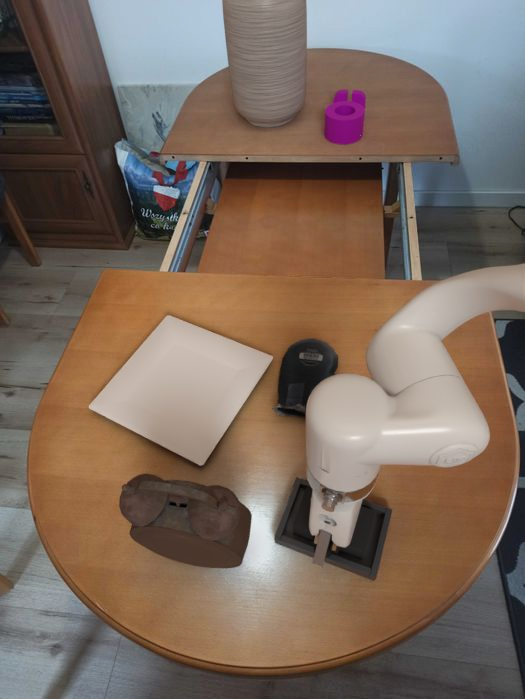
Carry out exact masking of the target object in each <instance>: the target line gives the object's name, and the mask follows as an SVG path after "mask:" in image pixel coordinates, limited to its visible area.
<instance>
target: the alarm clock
mask: <svg viewBox="0 0 525 699" xmlns="http://www.w3.org/2000/svg"><path fill="white" fill-rule="evenodd" d="M118 507H119V510H120V513H121V515H122V517H123V518H124V519H125V520H126V521H127V522H129V523H130V524H131V526H130V529H129V533H128V534H129V536H130V538H131V539H132V540H133V541H134V542H136V543H137V544H139V545H140V546H141V547H144V548H145V549H147V550H149V551H151V552H153V553H155V554H156V555H159V556H161V557H164V558H165V559H169V560H171V561H175V562H178V563H182V564H185V565H190V566H194V567H199V568H208V569H233V568H238V567H240V566H241V565H242V564H243V562H244V557H245V554H246V552H247V549H248V547H249V546H248V545H249V541H250V536H251V527H252V520H253V514H252V512H251V510H250V509H249V508H248V506H246V505H245V504H244V503H242V502H241V500H239V498H238V497H237V495H236V493H235V492H234V491H233V490H231V489H230V488H228V487H227V486H223V485H220V484H214V485H213V484H212V485H211V484H210V485H207V484H203V483H199V482H195V481H188V480H181V479H167V480H165V479H163V478H162V477H160V476H158V475H156V474H151V473H141V474H138V475H136V476H134V477H132V478H131V479H130V480H129V481H127V483H124V484H122V486H121V492H120V494H119V502H118Z"/></svg>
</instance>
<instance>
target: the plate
mask: <svg viewBox="0 0 525 699" xmlns="http://www.w3.org/2000/svg"><path fill="white" fill-rule="evenodd" d="M273 359H274V356H273V355H271V354H268V353H266V352H263V351H260V350H258V349H256V348H253V347H251V346H248V345H245V344H243V343H240V342H238V341H235V340H233V339H230V338H228V337H225V336H223V335H220V334H218V333H215V332H212V331H210V330H208V329H206V328H203V327H200V326H198V325H195V324H192V323H190V322H188V321H185V320H183V319H181V318H178V317H175V316H173V315H170V314H167V315H166V316H165V317H164V318H163V319H162V320H161V321H160V323H159V324H157V326H156V327H155V328H154V329H153V331H152V332H151V333H149V335H148V336H147V338H146V339H145V340H144V341H143V342H142V343H141V345H140V346H138V348H137V349H136V350H135V352H134V353H133V354H132V355H131V356H130V358H129V359H128V360H127V361H126V362H125V363H124V364H123V366H121V367H120V369H119V370H118V371H117V372H116V373H115V375H114V376H112V378H111V379H110V381H109V382H107V384H106V385H105V386H104V387H103V389H102V390H101V391H100V392H99V394H97V396H96V397H94V399H93V400H92V402H90V404H89V405H88V409H89V410H91V411H93V412H95V413H97V414H99V415H101V416H103V417H105V418H106V419H108V420H110V421H112V422H115V423H116V424H118V425H121V426H122V427H124V428H126V429H128V430H130V431H131V432H134V433H135V434H138V435H140V436H142V437H143V438H146V439H148V440H149V441H151V442H153V443H155V444H157V445H159V446H161V447H163V448H165V449H167V450H169V451H171V452H173V453H175V454H177V455H179V456H180V457H183V458H185V459H186V460H188V461H191V462H192V463H194V464H196V465H198V466H204V465H205V463H206V461H207V460H208V458H209V457H210V455H211V454H212V452H213V451H214V449H215V448H216V447H217V445H218V444H219V441H220V440H221V439H222V437H223V436H224V434H225V433H226V431H227V429H228V428H229V427H230V425H231V424H232V422H233V420H234V419H235V418H236V417H237V415H238V414H239V411H240V410H241V408H242V407H243V405H244V403H245V402H246V401H247V399H248V397H249V396H250V395H251V393H252V391H253V390H254V388H255V387H256V385H258V383H259V381H260V379H261V378H262V377H263V375H264V374H265V372H266V370H267V369H268V367H269V366H270V364H271V363H272V362H273Z"/></svg>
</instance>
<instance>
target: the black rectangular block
mask: <svg viewBox="0 0 525 699" xmlns="http://www.w3.org/2000/svg"><path fill="white" fill-rule="evenodd" d="M312 491H313V489H311V488H308V487H306V489H305V492H304V495H303V498H302V501H301V504H300V506H299V509H298V512H297V515H296V518H295V521H294V523H293V534H295V535H298V536H301V537H303V538H306V539H309V540H311V541H314V536H315V535H313V536H312V534H311V533H310V530H309V516H310V506H311V498H312ZM375 512H376V511H375V510H372V509H369V508H366V507H363V506H361V508H360V511H359V515H358V518H357V522H356V525H355V529H354V532H353V535H352V539H351V542H350V544H349V545H348V546H347V547H345V548H344V547H340V549H339V551H341V552H344V553H346V554H349V555H352V556H354V557H357V558H360V559H363V557H364V554H365V550H366V546H367V543H368V539H369V535H370V531H371V527H372V523H373V519H374V515H375Z"/></svg>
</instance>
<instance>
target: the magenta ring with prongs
mask: <svg viewBox="0 0 525 699" xmlns="http://www.w3.org/2000/svg"><path fill="white" fill-rule="evenodd" d="M348 99H349V89H339V90H337V91H336V92H335V93H334V97H333V101H332V103H330V104H329V105H327V106H326V107H325V110H324V131H323V132H324V138H325V140H326V141H328V142H330V143H332V144H335V145H351V144H354V143H357V142H358V141H360V140H361V139H362V137H363V135H364V126H365V125H364V123H365V114H366V103H367V102H366V101H367V96H366V93H365V92H364V91H363V90H361V89H353V90H352V92H351V100H348ZM360 135H361V136H360Z"/></svg>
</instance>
